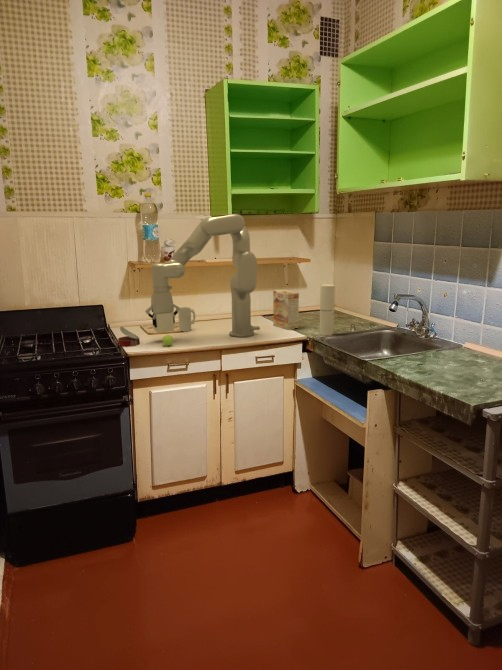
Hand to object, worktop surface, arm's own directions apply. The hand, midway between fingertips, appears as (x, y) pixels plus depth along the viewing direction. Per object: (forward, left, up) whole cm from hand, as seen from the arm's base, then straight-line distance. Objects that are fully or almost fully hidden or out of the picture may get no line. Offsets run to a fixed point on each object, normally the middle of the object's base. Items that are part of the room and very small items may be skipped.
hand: (164, 325), depth 246 cm
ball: (+1, +10, -5) cm, 11 cm away
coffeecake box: (-68, -6, -8) cm, 69 cm away
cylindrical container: (-79, +18, -8) cm, 82 cm away
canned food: (+17, -1, -8) cm, 19 cm away
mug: (-17, -20, -8) cm, 28 cm away
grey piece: (0, 0, -2) cm, 2 cm away
